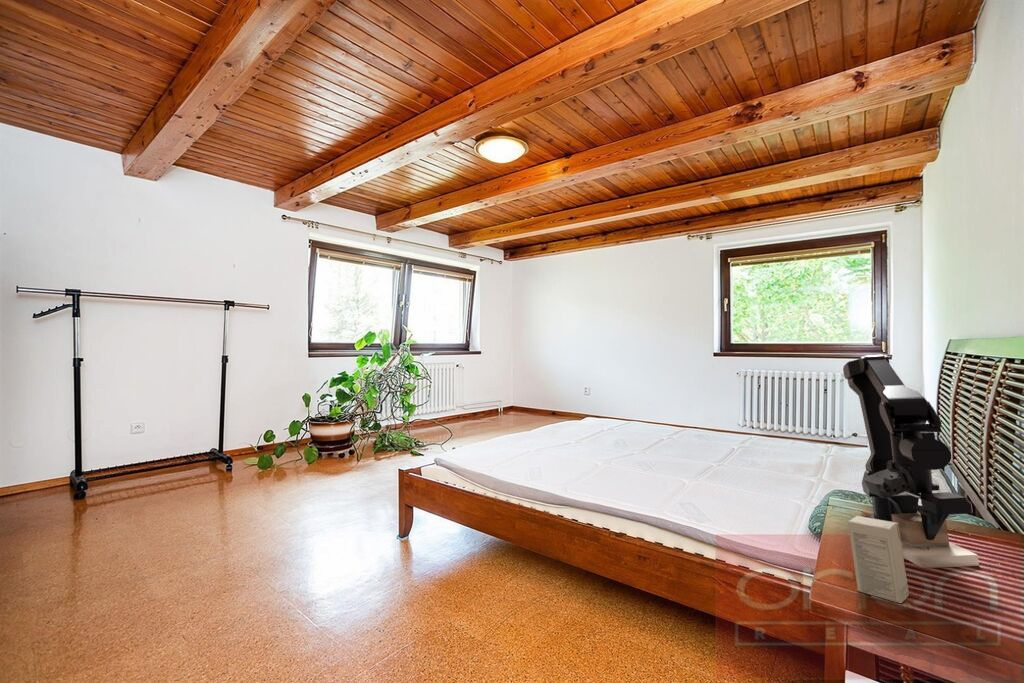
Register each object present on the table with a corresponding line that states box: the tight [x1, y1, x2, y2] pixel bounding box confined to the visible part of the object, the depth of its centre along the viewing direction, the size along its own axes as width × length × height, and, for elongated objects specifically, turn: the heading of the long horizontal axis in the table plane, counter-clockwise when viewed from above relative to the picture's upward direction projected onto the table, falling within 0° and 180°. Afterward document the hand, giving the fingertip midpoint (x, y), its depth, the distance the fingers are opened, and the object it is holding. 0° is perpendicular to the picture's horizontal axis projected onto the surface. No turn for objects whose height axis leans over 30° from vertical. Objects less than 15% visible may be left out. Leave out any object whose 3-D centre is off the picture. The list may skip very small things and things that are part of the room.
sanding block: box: [891, 512, 950, 547], centre depth 91 cm, size 4×7×5 cm, turn 86°
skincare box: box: [847, 515, 910, 604], centre depth 78 cm, size 6×4×12 cm
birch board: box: [901, 541, 980, 569], centre depth 90 cm, size 10×10×2 cm
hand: (919, 535), depth 91 cm, fingers closed on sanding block, 4 cm apart
